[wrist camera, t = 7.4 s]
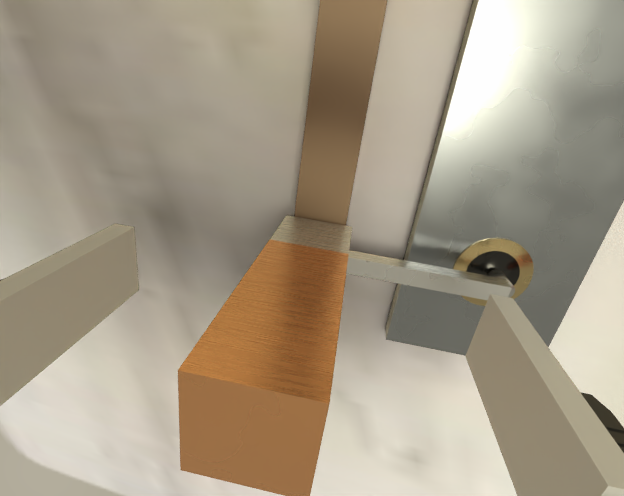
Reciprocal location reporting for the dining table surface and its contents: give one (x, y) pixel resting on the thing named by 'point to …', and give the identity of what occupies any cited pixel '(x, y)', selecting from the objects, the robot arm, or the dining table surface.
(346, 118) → the gauge rail
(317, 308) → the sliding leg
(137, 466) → the dining table surface
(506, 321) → the robot arm
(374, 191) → the dining table surface
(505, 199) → the bolt plate
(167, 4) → the dining table surface
